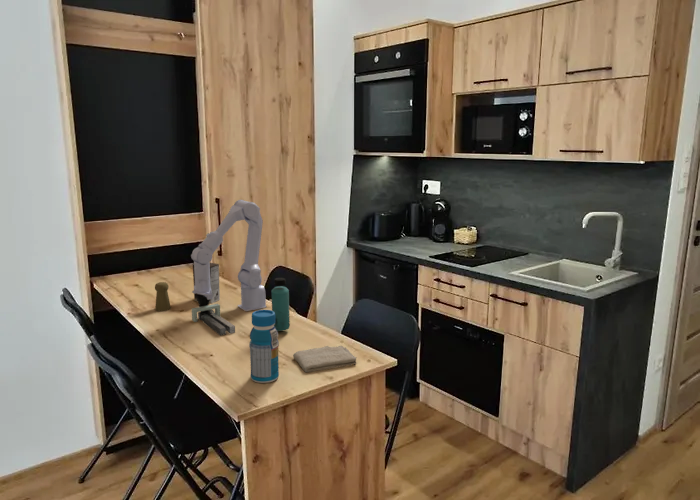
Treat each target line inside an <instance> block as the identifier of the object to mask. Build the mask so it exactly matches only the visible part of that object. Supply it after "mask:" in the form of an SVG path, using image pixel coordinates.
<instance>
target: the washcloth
mask: <svg viewBox="0 0 700 500" xmlns="http://www.w3.org/2000/svg"><path fill="white" fill-rule="evenodd" d="M292 357H293V359H294V360H295V361H296V363H298V365H299V366H300V367H301V369H302V370H303V371H304V372H305V373H311V372H316V371H323V370H328V369H335V368H341V367H347V365H348V366H353V365H352V364H355V365H357V357H356V356H355V355H353V354H352V353H351V351H350V350H349V349H348V348H347V347H344V346H343V345H338V346H329V345H326V346H325V345H324V346H322V347H316V348H308V349H303V350H298V351H296V352H294V353H293V355H292Z"/></svg>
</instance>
